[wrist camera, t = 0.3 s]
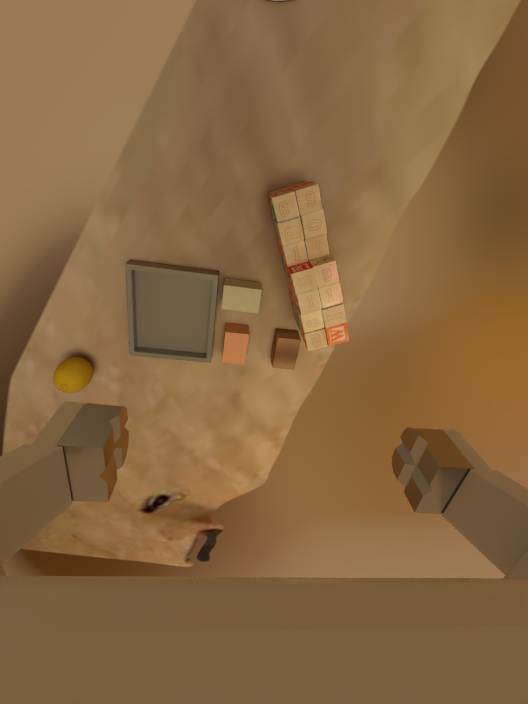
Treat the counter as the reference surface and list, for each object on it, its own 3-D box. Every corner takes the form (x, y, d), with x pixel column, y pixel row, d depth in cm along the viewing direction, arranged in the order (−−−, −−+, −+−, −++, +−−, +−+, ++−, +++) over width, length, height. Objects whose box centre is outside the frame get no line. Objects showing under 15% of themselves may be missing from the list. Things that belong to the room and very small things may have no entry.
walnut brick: (275, 327, 60) (278, 337, 56) (297, 330, 60) (300, 340, 57) (270, 356, 63) (272, 367, 59) (290, 358, 63) (293, 369, 60)
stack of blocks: (265, 192, 49) (273, 198, 38) (306, 180, 49) (326, 183, 38) (295, 319, 59) (308, 353, 48) (329, 310, 59) (349, 342, 48)
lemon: (102, 374, 62) (85, 400, 55) (72, 376, 61) (51, 402, 54) (94, 348, 59) (75, 372, 52) (62, 350, 59) (39, 374, 52)
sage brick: (224, 277, 55) (223, 285, 51) (260, 282, 55) (261, 289, 52) (222, 300, 57) (221, 309, 53) (256, 304, 57) (258, 313, 54)
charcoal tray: (130, 259, 52) (125, 263, 50) (219, 271, 54) (218, 275, 52) (133, 348, 59) (129, 355, 57) (211, 355, 61) (210, 362, 59)
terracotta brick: (226, 322, 59) (225, 332, 55) (248, 324, 59) (249, 334, 56) (222, 351, 61) (222, 362, 58) (244, 353, 62) (244, 364, 58)
